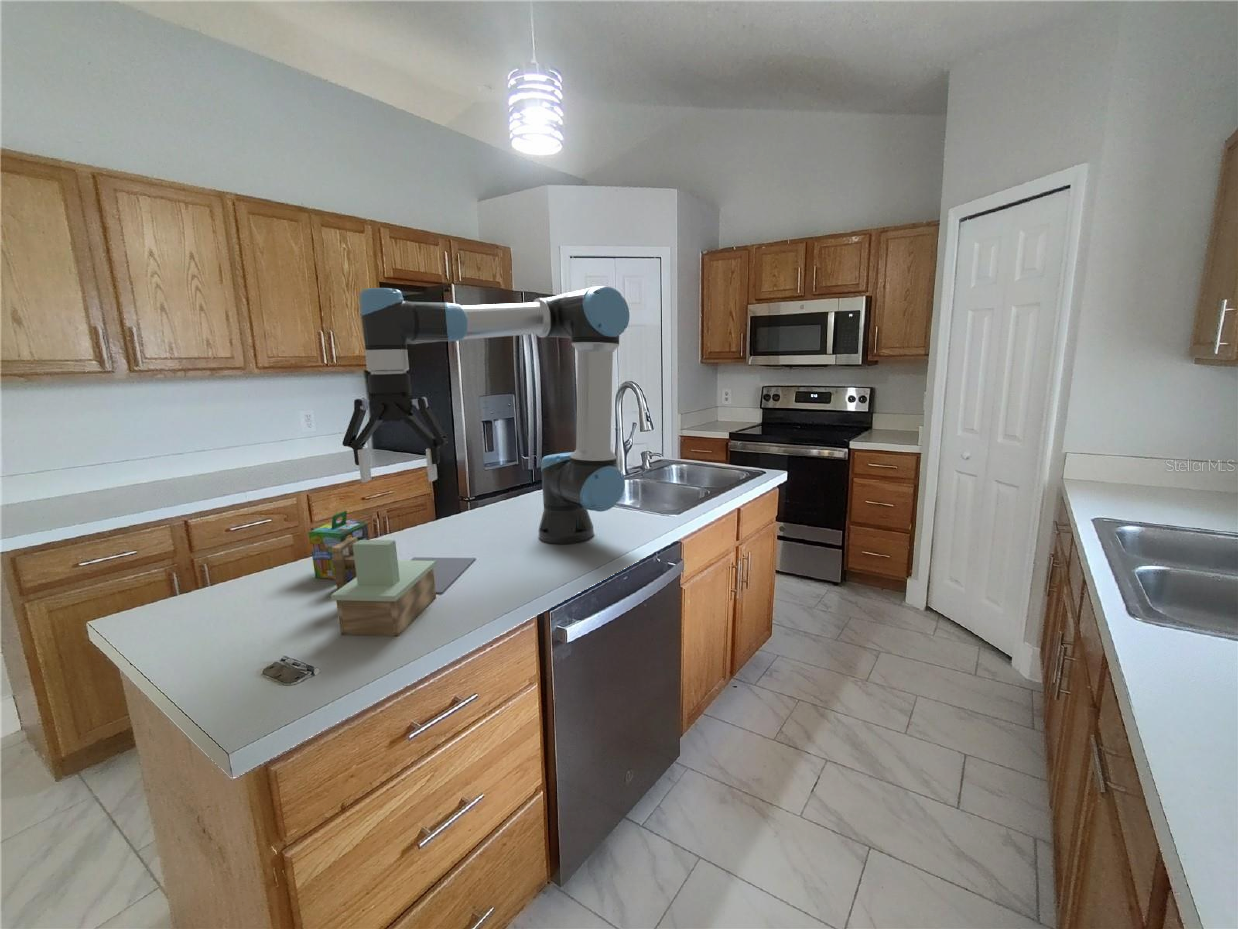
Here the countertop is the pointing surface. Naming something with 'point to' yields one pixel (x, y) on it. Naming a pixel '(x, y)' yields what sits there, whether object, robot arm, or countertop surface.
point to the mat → (446, 570)
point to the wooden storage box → (379, 603)
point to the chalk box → (333, 542)
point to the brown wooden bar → (347, 561)
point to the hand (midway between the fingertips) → (399, 480)
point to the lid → (381, 573)
